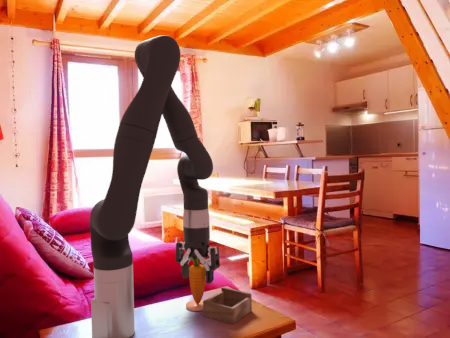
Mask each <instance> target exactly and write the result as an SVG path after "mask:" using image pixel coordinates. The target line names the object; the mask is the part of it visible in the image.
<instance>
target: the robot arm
mask: <svg viewBox="0 0 450 338" xmlns="http://www.w3.org/2000/svg"><path fill="white" fill-rule="evenodd" d="M134 60H135V64H136V66H137V69H138V71H139V72H140V74H141V76H142V78H143V79H142V81H141V84H140V87H139V89H138V91H137V92H136V94H135V96H134V97H133V99H131V102H130V103H129V104H128V106H127V108H126V109H125V111H124V113H123V115H122V117H121V119H120V122H119V126H118V128H117V133H116V137H115V140H114V145H113V151H112V152H113V154H112V155H113V157H112V172H111V180H110V182H109V187H108V189H107V192H106V195H105V197H104V199H101V200H99V201H98V202H97V203H96V204H95V205H94V206H93V207H92V209H91V211H90V216H89V232H90V248H91V250H90V251H91V257H92V261H93V264H92V265H93V291H94V292H93V293H94V296H93V297H94V298H91V300H90V312H91V313H90V315H91V338H130V337H132V336H133V335H134V334H135V301H134V300H135V297H134V295H135V292H134V262H133V260H134V259H133V256H134V255H133V251H132V248H131V244H130V241H129V234H130V233H131V232H132V231H133V229H134V226H135V224H136V223H135V222H136V217H137V211H138V206H139V198H140V193H141V189H142V184H143V180H144V178H145V175H146V173H147V170H148V166H149V162H150V158H151V156H152V152H153V149H154V146H155V142H156V139H157V135H158V130H159V126H160V123H161V121H162V120H161V119H162V116H163V119H164V121H165V123H166V127H167V129H168V132H169V135H170V138H171V140H172V143H173V146H174V148H175V149H176V150H177V151H180V152H182V153H184V154H185V155H183V156H181V157H180V159H179V161H178V164H177V168H176V169H177V172H176V173H177V177H178V180H179V181H178V182H179V184H180V189H181V191H182V195H183V215H182V229H183V231H182V232H183V240H181V241H179V242H176V243H175V263H179V264H180V267H181V276H182V278H183V279H187V278H188V279H189V267H190V264H189V263H190V261H191V260H190V259H189V258H190V257H192V258H193V259H195V260H196V261H197V256H198V258H199V261H200V263H201V265H204V267H205V270H206V278H205V284H208V285H209V284H212V283H213V281H214V280H215V278H214V277H215V276H214V274H215V272H214V271H215V270H217V269H219V268H220V266H221V264H220V263H221V262H220V248H219V246H210V244H209V242H210V239H211V237H210V235H211V234H210V232H211V231H210V211H209V194H208V193H209V192H208V190H207V189H205V188H204V187H202V186H201V185H199V181H198V180H202V181H203V180H207V179H209V178H210V177H211V176H212V174H213V171H214V164H213V160H212V157H211V155H210V154H209V152H208V150H207V148H206V147H205V146H204V144H203V143H202V141H201V140H200V138H199V137H198V133H197V130H196V127H195V125H194V121H193V118H192V115H191V114H190V112H189V110H188V109H187V108H186V106H185V105H184V104H183V102H182V101H181V100H180V98H179V97H178V95H177V94H176V92H175V90H174V88H173V87H172V85H173V82H174V80H175V76H176V74H177V71H178V70H179V67H180V64H181V63H180V62H181V49H180V46H179V44H178V42H177V41H176V39H175V38H174V37H172V36H170V35H164V34H163V35H157V36H154V37H151V38H148V39H146V40H143V41H141V42H140V43H138V45H136V47H135V51H134Z"/></svg>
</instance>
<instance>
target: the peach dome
mask: <svg viewBox="0 0 450 338" xmlns="http://www.w3.org/2000/svg"><path fill="white" fill-rule="evenodd" d="M205 300H206V299H201V301H200V303H199V304H196V302H195V300H194V299H192V300H189V301H187V302H186V303H185V308H186V310H188V311H190V312H203V301H205Z"/></svg>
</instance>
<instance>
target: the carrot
mask: <svg viewBox="0 0 450 338" xmlns="http://www.w3.org/2000/svg"><path fill="white" fill-rule="evenodd" d="M189 259H190V261H192V262H193V264H192V265H189V277H188V280H189V287H190V292H191V295H192V298H193V300H195V302H196V304H199V303H200V301H201V300H203V296H204V293H205V287H206V271H207V270H206V268H205V266H204V265H203V264H202V263H201V261H199V258H198V256H197V260H195V259H193V258H192V257H190V258H189ZM200 263H201V264H200Z"/></svg>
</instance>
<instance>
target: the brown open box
mask: <svg viewBox="0 0 450 338" xmlns="http://www.w3.org/2000/svg"><path fill="white" fill-rule="evenodd" d="M252 297H253V296H252V293H251V292H248V291H243V290H238V289H234V288H230V287H225V286H221V291H219V292H217V293H216V294H214V295H211V296H210V297H208V298H206V299H204V300H205V301H203V311H202V313H203V315H202V316H203V317H206V318H211V319H213V320H218V321H220V322H224V323H228V324H230V325H234V324H236V323H237V322H238V321H240V320H241V319H243V318H244V317H246V316H247V315H248V314H250V313H251V312H252V311H253V307H252V305H253V303H252V302H253V301H252Z"/></svg>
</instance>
